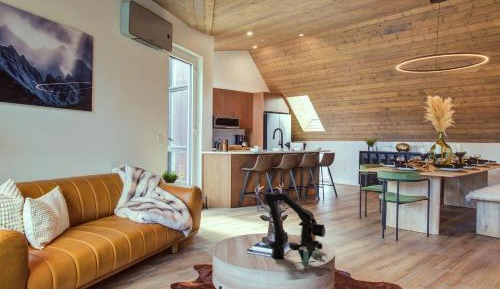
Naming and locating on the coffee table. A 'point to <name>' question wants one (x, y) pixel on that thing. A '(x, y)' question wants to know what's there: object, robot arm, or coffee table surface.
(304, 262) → the teal marker
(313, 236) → the small box
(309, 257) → the robot arm
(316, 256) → the frame
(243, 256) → the coffee table surface
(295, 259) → the colouring sheet
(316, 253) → the button
